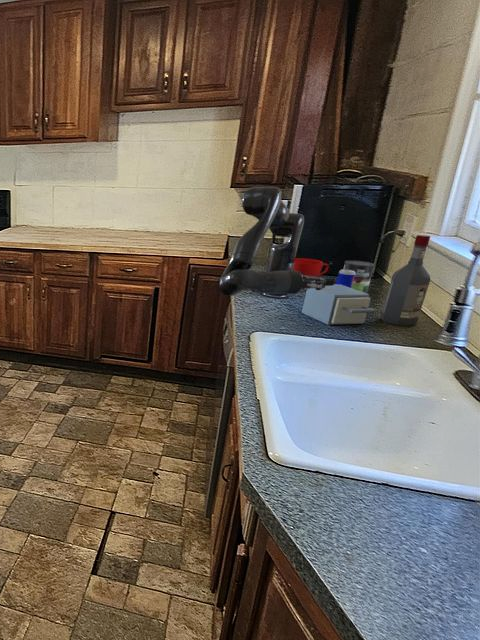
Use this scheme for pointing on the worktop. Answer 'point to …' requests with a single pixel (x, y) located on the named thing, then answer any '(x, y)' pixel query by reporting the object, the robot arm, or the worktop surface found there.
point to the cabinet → (327, 301)
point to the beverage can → (346, 277)
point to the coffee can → (360, 274)
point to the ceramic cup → (309, 267)
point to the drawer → (350, 310)
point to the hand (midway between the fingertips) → (332, 281)
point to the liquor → (408, 288)
